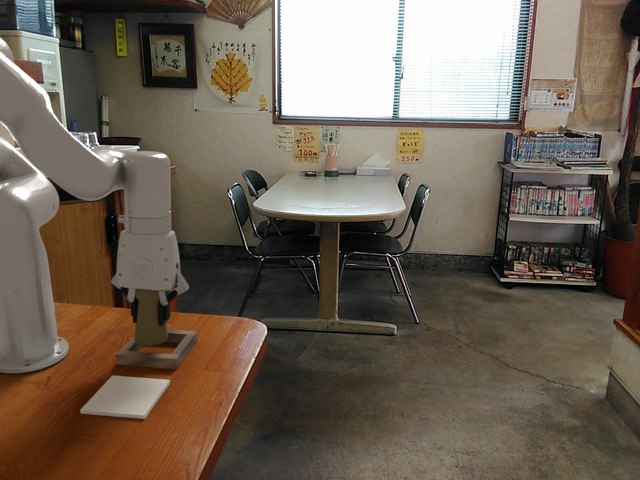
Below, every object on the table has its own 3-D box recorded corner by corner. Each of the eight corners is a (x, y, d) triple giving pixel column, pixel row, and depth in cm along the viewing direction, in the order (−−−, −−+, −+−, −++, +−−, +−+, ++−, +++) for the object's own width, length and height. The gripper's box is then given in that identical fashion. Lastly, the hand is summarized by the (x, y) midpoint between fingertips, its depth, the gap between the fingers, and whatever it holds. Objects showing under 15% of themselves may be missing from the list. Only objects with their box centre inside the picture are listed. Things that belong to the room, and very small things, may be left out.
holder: (116, 364, 93) (115, 354, 93) (143, 336, 104) (142, 327, 103) (177, 369, 92) (176, 358, 92) (197, 340, 103) (197, 331, 102)
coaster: (80, 413, 79) (80, 410, 79) (112, 378, 89) (112, 375, 89) (144, 418, 78) (144, 415, 78) (170, 383, 88) (170, 379, 88)
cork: (158, 347, 94) (157, 289, 91) (127, 342, 95) (125, 285, 92) (174, 333, 99) (173, 278, 96) (144, 328, 100) (143, 274, 97)
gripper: (90, 225, 88) (96, 325, 93) (188, 233, 87) (188, 335, 92) (112, 215, 95) (116, 309, 100) (202, 223, 94) (202, 317, 99)
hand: (151, 320), depth 96 cm, fingers closed on cork, 4 cm apart
